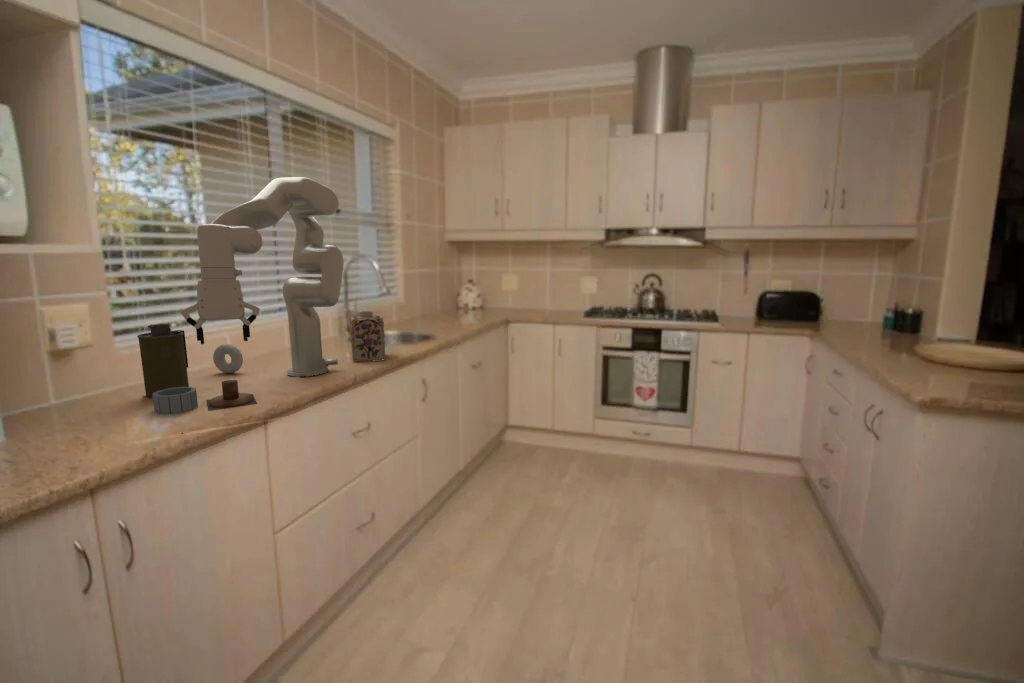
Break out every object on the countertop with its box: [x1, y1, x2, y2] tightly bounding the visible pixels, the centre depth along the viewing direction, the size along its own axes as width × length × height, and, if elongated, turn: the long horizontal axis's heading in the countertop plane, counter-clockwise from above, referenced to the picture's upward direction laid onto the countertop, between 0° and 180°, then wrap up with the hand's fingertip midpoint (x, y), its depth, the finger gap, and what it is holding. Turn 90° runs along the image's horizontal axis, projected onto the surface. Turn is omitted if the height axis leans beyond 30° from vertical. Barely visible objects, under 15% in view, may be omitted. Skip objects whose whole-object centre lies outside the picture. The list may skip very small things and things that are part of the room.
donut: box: [212, 343, 244, 374], centre depth 162 cm, size 10×4×10 cm, turn 81°
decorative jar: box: [349, 310, 386, 363], centre depth 186 cm, size 12×12×18 cm
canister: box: [137, 323, 190, 399], centre depth 136 cm, size 11×10×20 cm
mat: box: [206, 393, 258, 412], centre depth 130 cm, size 11×11×1 cm
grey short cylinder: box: [152, 386, 199, 415], centre depth 124 cm, size 9×9×5 cm
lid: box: [208, 379, 254, 408], centre depth 129 cm, size 10×10×6 cm
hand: (224, 342), depth 127 cm, fingers open, 9 cm apart
